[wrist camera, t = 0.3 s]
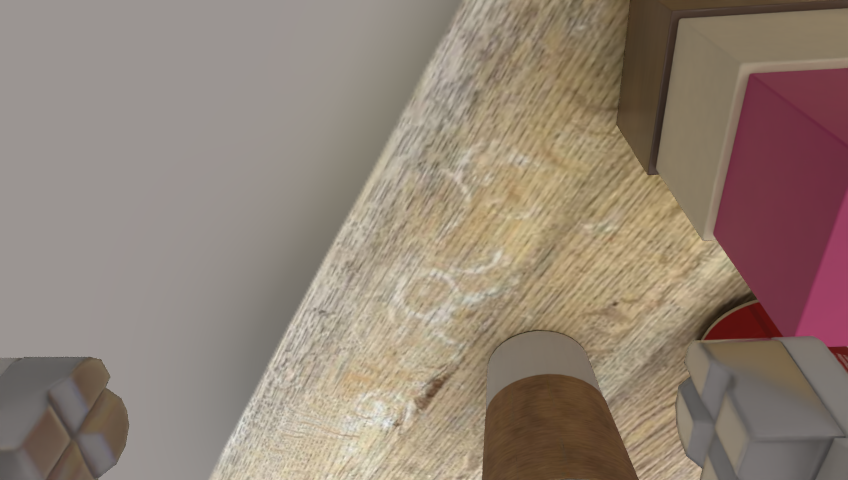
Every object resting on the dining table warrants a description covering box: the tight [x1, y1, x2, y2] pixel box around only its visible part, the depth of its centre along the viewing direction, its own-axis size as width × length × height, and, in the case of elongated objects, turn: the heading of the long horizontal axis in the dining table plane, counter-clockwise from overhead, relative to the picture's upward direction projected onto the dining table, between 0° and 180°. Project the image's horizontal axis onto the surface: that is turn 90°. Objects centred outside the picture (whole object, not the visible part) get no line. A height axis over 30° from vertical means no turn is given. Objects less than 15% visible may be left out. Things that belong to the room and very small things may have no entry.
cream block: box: [656, 8, 848, 241], centre depth 19 cm, size 6×6×5 cm
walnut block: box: [617, 0, 848, 175], centre depth 23 cm, size 6×6×5 cm
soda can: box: [702, 299, 848, 373], centre depth 28 cm, size 7×7×12 cm
